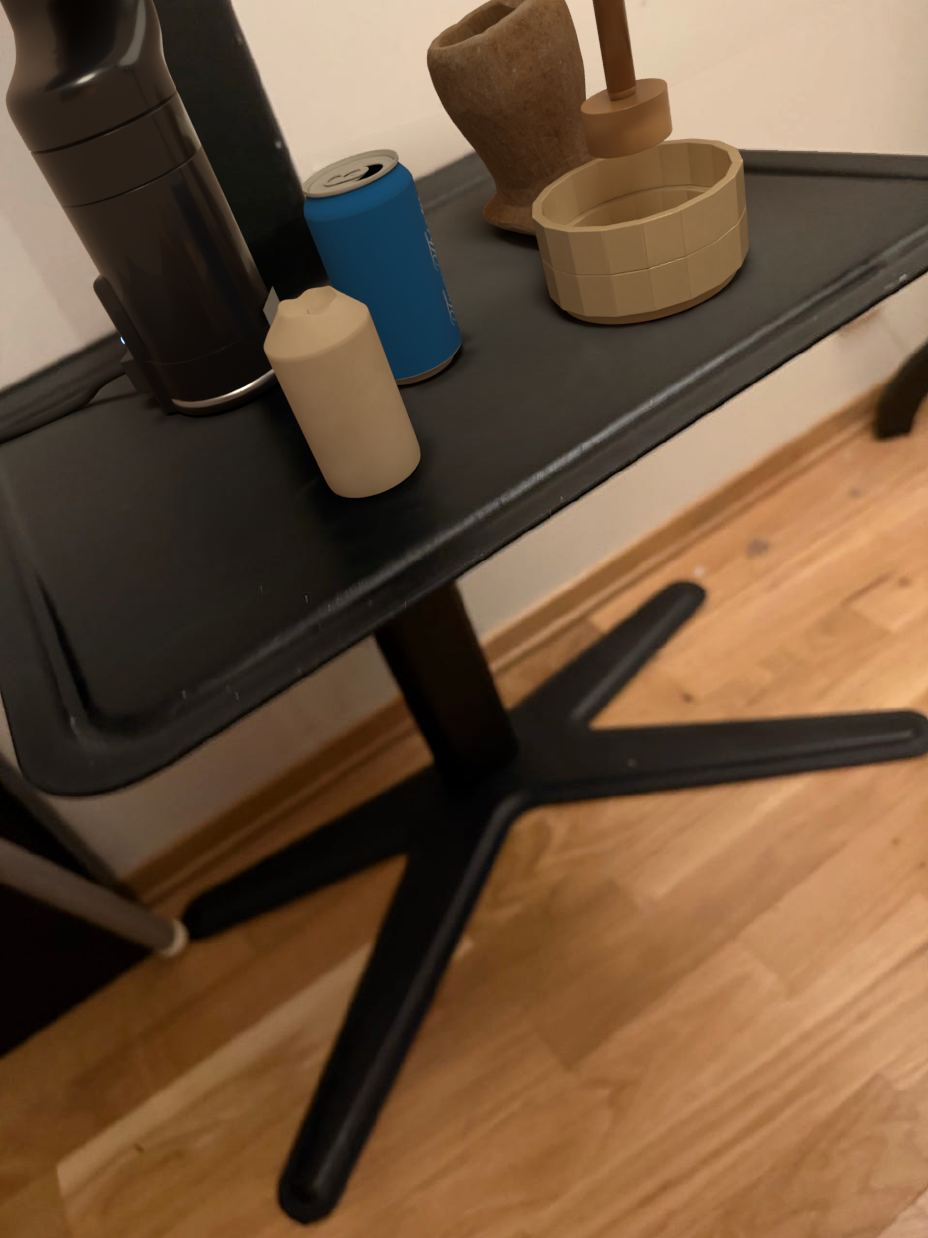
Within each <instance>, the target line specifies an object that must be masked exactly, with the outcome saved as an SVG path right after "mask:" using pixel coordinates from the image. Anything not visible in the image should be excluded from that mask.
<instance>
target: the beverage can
mask: <svg viewBox="0 0 928 1238" xmlns="http://www.w3.org/2000/svg"><path fill="white" fill-rule="evenodd" d="M399 160H400V159H399V154H398V152H397V151H396V150H395V149H390V148H389V149H388V148H383V149H382V148H381V149H380V148H379V149H374V150H368V151H364V152H360V153H356V154H352V155H349V156H347V157H344V158H341V159H339V160H337V161H335V162H332V163H330V164H327V166H324V167H323V168H321V169H319V170H318V171H316V172H314V173H313V174H312V175H310V176H309V177H308V178H307V179H305V181H304V182H303V183H302V186H301V190H302V193H303V195H304V196H305V199H304V204H303V216H304V219H305V222H306V225H307V226H308V229H309V231H310V234H311V237H312V239H313V242H314V244H315V247H316V249H317V252H318V254H319V257H320V260H321V261H322V265H323V267H324V270H325V272H326V275H327V278H328V281H329V283H330V286H331V287H332V288H334V289H336V290H337V291H339V292H341V293H343V294H345V295H347V296H349V297H351V298H353V299H355V300H357V301H360V302H361V303H363V304H365V305H366V306H367V308H368V310H369V312H370V315H371V318H372V320H373V323H374V326H375V328H376V331H377V334H378V336H379V339H380V342H381V344H382V347H383V350H384V352H385V355H386V358H387V360H388V363H389V366H390V368H391V371H392V374H393V376H394V379H395V382H396V385H397V386H400V385H401V386H403V385H410V384H415V383H418V382H421V381H425V380H426V379H429V378H431V377H433V376H435V375H437V374H439V373H440V372H441V371H442V370H444V369H445V368H446V367H447V366H449V364H450V363H451V362H452V361H453V359H454V355H455V354H457V352H458V350H459V349H460V347H461V345H462V342H463V337H462V333H461V330H460V326H459V323H458V320H457V316H456V314H455V310H454V307H453V304H452V300H451V297H450V294H449V291H448V288H447V284H446V280H445V277H444V274H443V271H442V268H441V265H440V262H439V258H438V255H437V252H436V249H435V245H434V242H433V239H432V235H431V233H430V232H431V231H430V229H429V226H428V223H427V219H426V216H425V213H424V212H425V211H424V209H423V206H422V203H421V200H420V199H421V198H420V197H419V193H418V190H417V186H416V183H415V180H414V177H413V175H412V173H411V171H410V170H409V169H408V168H407V167H406V166H405V165H403V164H402V163H401V162H400V161H399Z"/></svg>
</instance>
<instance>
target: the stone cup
mask: <svg viewBox="0 0 928 1238" xmlns="http://www.w3.org/2000/svg"><path fill="white" fill-rule="evenodd" d="M578 37H579V36H578V34H577V30H576V27H575V23H574V20H573V16H572V13H571V11H570V8H569V5H568V4H567V1H566V0H488V1H486V2H484V3H483V4H481V5H480V6H478V7H476V8H475V9H473V10H471V11H470V12H468V13H467V14H465V15H464V16H463V17H462V18H461V19H460V20H459V21H457V23H454V24H452V25H450V26H449V27H447V28H444V30H443V31H441V32H440V33H439V34H438V35H437V36H436V37H434V39H433V40H432V41H431V43H430V45H429V47H428V48H427V51H426V67H427V70H428V72H429V77H430V80H431V84H432V85H433V88H434V91H435V92H436V93H435V94H436V95H437V97H438V99H439V101H440V103H441V106H442V107H443V109H444V111H445V113H446V114H447V116H448V117H449V119H450V120H451V121H452V123H453V124H454V125H455V127H456V128H457V130H458V131H459V132H460V133H461V135H462V136H463V138H465V140H466V141H467V142H468V143H469V145H470V146H471V147H472V148H473V150H474V151H475V153H476V154H477V156H478V157H479V158H480V160H481V161H482V163H483V164H484V166H485V168H486V169H487V171H488V172H489V174H490V176H491V177H492V180H493V182H494V185H495V192H496V193H495V195H493V196H492V197H491V199H489V201H488V202H487V203H486V205H485V206H484V207H483V213H482V215H483V217H484V219H485V220H486V221H487V222H488V224H491V225H492V226H494V227H496V228H498V229H501V230H506V231H509V232H513V233H517V234H521V235H522V234H523V235H528V236H535V237H536V233H535V228H534V224H533V219H532V204H533V202H534V201H535V200H536V199H537V197H538V196H539V195H540V193H541V192H542V191H543V190H544V189H545V188H546V187H547V186H549V185H550V184H552V183H553V182H554V181H556V180H557V179H559V178H560V177H561V176H563V175H564V174H566V173H568V172H570V171H572V170H574V169H576V168H578V167H580V166H582V165H584V164H586V163H588V162H590V161H592V160H595V159H598V158H594V157H592V156H590V155H589V153H588V148H587V143H586V137H585V132H584V127H583V121H582V116H581V110H580V108H581V105H582V104H583V103H584V102H585V101H586V100H587V89H586V88H587V87H586V71H585V65H584V59H583V55H582V50H581V47H580V41H579V38H578Z"/></svg>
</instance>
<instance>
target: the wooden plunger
mask: <svg viewBox="0 0 928 1238" xmlns="http://www.w3.org/2000/svg"><path fill="white" fill-rule="evenodd" d="M591 2H592V6H593V13H594V20H595V25H596V32H597V38H598V43H599V50H600V56H601V62H602V68H603V74H604V80H605V86H606V88H605V89H603V90H600V91H599V92H597V93H594V94H593V95H592V96H590V97H588V98H586V101H585V102H584V103H583V104H582V105H581V108H580V110H581V116H582V121H583V127H584V132H585V137H586V143H587V148H588V153H589V155H590V156H592V157H594V158H600V159H611V158H619V157H624V156H628V155H632V154H636V153H639V152H642V151H644V150H647V149H649V148H651V147H654V146H655V145H657V144H659V143H661V142H662V141H666V140H667V139H668V138H669V137H670V136H671V134H672V132H673V121H672V113H671V103H670V97H669V96H670V95H669V89H668V82H667V81H666V80H664V79H662V78H657V77H648V78H640V79H639V78H638V79H637V78H636V72H635V63H634V57H633V56H634V55H633V50H632V43H631V37H630V36H631V35H630V29H629V21H628V15H627V8H626V1H625V0H592V1H591Z"/></svg>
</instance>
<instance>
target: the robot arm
mask: <svg viewBox="0 0 928 1238" xmlns="http://www.w3.org/2000/svg"><path fill="white" fill-rule="evenodd" d="M0 4H1V6H2V9H3V11H4V14H5V16H6V17H7V21H8V22H9V24H10V27H11V30H12V32H13V37H14V38H13V39H14V45H15V62H14V68H13V73H12V75H11V79H10V82H9V83H8V87H7V91H6V94H5V107H6V110H7V112H8V116H9V117H10V120H11V121H12V124H13V125H14V127H15V129H16V131H17V132H18V134H19V136H20V137H21V139H22V141H23V143H24V145H25V146H26V148H27V150H28V151H29V152H30V155H31V157H32V159H33V160H34V162H35V164H36V166H37V167H38V169H39V170H40V172H41V174H42V176H43V178H44V179H45V181H46V183H47V184H48V187H49V188H50V190H51V192H52V193H53V195H54V197H55V199H56V200H57V202H58V204H59V205H60V207H61V209H62V210H63V213H64V214H65V215H66V218H67V220H68V221H69V222H70V224H71V227H72V228H73V230H74V232H75V234H76V235H77V236H78V238H79V240H80V242H81V244H82V245H83V247H84V248H85V251H86V253H87V254H88V256H89V258H90V259H91V261H92V263H93V265H94V267H95V269H96V271H98V273H99V274H98V276H97V277H96V278H94V281H93V284H92V289H93V292H94V294H95V296H96V297H97V299H98V300H99V302H100V304H101V306H102V308H103V309H104V310H105V312H106V314H107V316H108V318H109V319H110V321H111V322H112V324H113V326H114V328H115V330H116V331H117V333H118V335H119V336H120V339H121V342H122V343H123V344H124V345H125V347H126V348H127V351H126V353H125V354H124V356H122V359H121V360H120V361H119V364H118V365H116V366H114V367H111V368H110V369H108V370H106V371H105V372H103V373H101V374H100V375H98V376H97V377H95V379H93V380H92V381H91V382H90V383H89V384H88V386H87V388H86V389H85V390H84V391H83V392H82V393H81V394H79V395H78V396H76V397H74V398H73V399H71V400H70V401H68V402H66V403H64V404H62V405H60V406H58V407H56V408H54V409H53V410H50V411H48V412H45V413H43V414H42V415H39V416H37V417H34V418H31V419H28V420H27V421H24V422H21V423H18V424H16V425H13V426H10V427H7V428H4V429H1V430H0V442H4V441H7V440H10V439H12V438H13V439H14V438H16V437H18V436H21V435H25V434H27V433H30V432H32V431H35V430H37V429H39V428H41V427H44V426H46V425H48V424H51V423H53V422H54V421H57V420H60V419H61V418H64V417H66V416H68V415H70V414H71V413H74V412H75V411H77V410H79V409H81V408H82V407H84V406H86V405H87V404H89V403H90V402H92V401H93V400H94V398H95V397H96V395H97V394H98V393H99V391H101V389H102V388H104V387H105V386H107V385H108V384H110V383H112V382H113V381H115V380H117V379H118V378H119V379H120V378H121V377H123V376H125V375H126V376H127V378H128V379H129V381H130V383H131V384H132V386H133V387H134V390H135V391H136V393H137V394H138V395H141V394H147V393H150V392H152V393H153V394H154V397H155V398H156V399H157V401H158V403H159V404H160V406H161V408H162V410H163V411H164V414H167V415H168V414H172V413H177V412H179V413H182V414H184V415H191V416H202V415H209V414H213V413H215V414H216V413H218V412H222V411H226V410H229V409H232V408H235V407H238V406H240V405H243V404H245V403H247V402H249V401H251V400H253V399H255V398H257V397H259V396H260V395H262V394H264V393H266V392H267V391H269V390H270V389H271V388H273V387H275V385H277V384H278V383H279V381H278V379H277V377H276V374H275V372H274V370H273V368H272V366H271V364H270V362H269V360H268V357H267V355H266V353H265V351H264V343H265V340H266V337H267V334H268V332H269V330H270V327H271V325H272V323H273V321H274V319H275V316H276V313H277V309H278V305H279V303H280V302H281V301H280V299H279V297H278V295H277V293H276V291H275V289H274V286H273V285H272V286H271V289H270V291H269V292H268V289H267V287H266V285H265V283H264V280H263V278H262V276H261V273H260V272H259V269H258V267H257V264H256V263H255V261H254V258H253V256H252V254H251V252H250V249H249V247H248V245H247V242H246V240H245V238H244V236H243V234H242V231H241V230H240V227H239V225H238V223H237V220H236V219H235V216H234V214H233V212H232V210H231V207H230V205H229V202H228V201H227V198H226V196H225V194H224V191H223V189H222V187H221V184H220V183H219V181H218V178H217V176H216V174H215V172H214V170H213V168H212V167H213V166H212V165H211V163H210V161H209V158H208V156H207V154H206V152H205V150H204V148H203V145H202V143H201V141H200V139H199V136H198V134H197V132H196V129H195V127H194V125H193V123H192V121H191V118H190V116H189V114H188V112H187V109H186V108H185V105H184V103H183V100H182V98H181V96H180V94H179V92H178V90H177V87H176V84H175V82H174V81H173V77H172V76H171V74H170V71H169V68H168V64H167V62H166V59H165V54H164V45H163V35H162V29H161V24H160V19H159V15H158V12H157V8H156V5H155V3H154V0H0Z"/></svg>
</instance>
